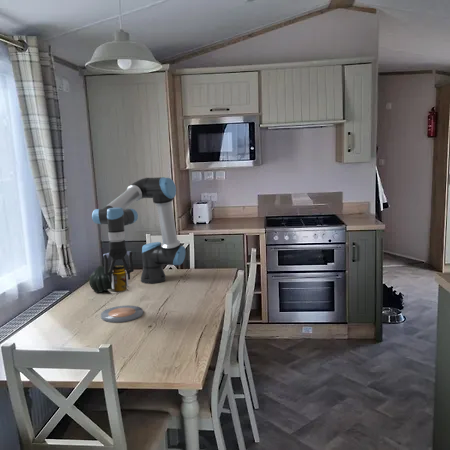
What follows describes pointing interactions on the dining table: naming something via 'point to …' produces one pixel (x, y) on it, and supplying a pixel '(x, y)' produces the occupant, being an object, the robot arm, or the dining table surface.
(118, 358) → the dining table surface
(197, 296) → the dining table surface
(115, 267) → the condiment
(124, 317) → the ring stand
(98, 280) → the squash
